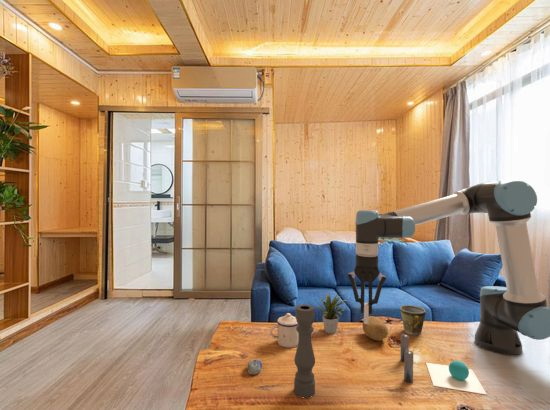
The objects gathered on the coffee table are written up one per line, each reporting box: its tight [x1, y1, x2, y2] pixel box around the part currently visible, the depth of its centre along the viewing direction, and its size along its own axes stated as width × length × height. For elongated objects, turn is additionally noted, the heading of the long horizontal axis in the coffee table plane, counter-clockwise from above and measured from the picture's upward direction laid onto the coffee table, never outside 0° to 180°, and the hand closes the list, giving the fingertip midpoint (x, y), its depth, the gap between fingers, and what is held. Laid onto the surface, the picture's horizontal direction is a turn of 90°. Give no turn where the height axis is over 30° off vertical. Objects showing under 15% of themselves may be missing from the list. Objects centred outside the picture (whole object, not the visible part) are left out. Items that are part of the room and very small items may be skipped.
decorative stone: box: [246, 358, 263, 375], centre depth 102 cm, size 6×4×5 cm
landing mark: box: [425, 362, 488, 396], centre depth 98 cm, size 14×14×1 cm
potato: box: [362, 315, 389, 342], centre depth 126 cm, size 10×14×8 cm
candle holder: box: [293, 303, 316, 399], centre depth 90 cm, size 6×6×25 cm
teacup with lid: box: [269, 312, 299, 349], centre depth 121 cm, size 12×9×12 cm
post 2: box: [403, 350, 414, 384], centre depth 96 cm, size 3×3×9 cm
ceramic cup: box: [400, 304, 426, 336], centre depth 131 cm, size 13×10×10 cm
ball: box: [448, 360, 469, 380], centre depth 97 cm, size 6×6×6 cm
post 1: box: [400, 333, 410, 363], centre depth 108 cm, size 3×3×9 cm
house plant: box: [316, 293, 348, 334], centre depth 132 cm, size 14×14×16 cm
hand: (366, 322), depth 106 cm, fingers closed
